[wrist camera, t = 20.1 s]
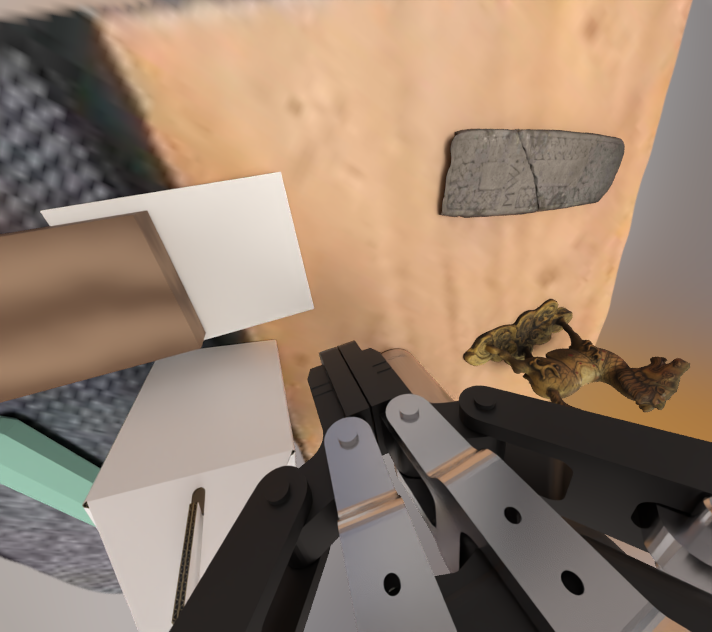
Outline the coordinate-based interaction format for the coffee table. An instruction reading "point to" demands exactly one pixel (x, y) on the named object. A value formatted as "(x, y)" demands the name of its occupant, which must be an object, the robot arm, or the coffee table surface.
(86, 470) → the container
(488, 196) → the stone slab
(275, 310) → the riser
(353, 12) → the coffee table surface
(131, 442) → the gable box
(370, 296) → the coffee table surface
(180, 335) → the plank
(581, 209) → the coffee table surface
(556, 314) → the figurine
